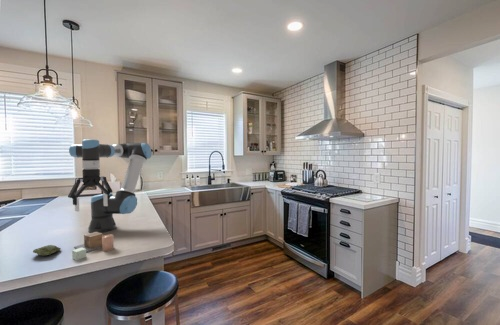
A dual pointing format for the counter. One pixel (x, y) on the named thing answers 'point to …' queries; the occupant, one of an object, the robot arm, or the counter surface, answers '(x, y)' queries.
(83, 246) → the coaster
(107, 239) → the pink glossy pebble
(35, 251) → the seashell
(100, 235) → the walnut cube
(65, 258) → the counter surface
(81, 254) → the sage block
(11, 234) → the counter surface
